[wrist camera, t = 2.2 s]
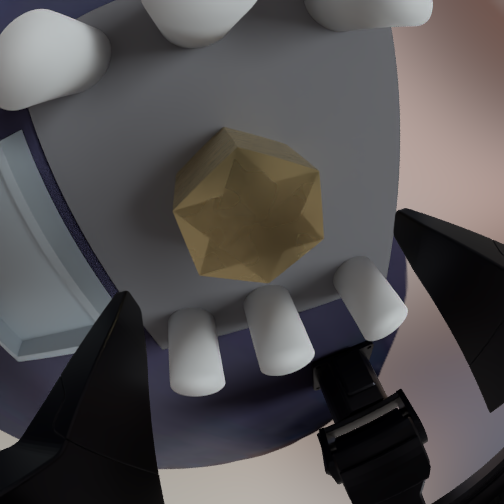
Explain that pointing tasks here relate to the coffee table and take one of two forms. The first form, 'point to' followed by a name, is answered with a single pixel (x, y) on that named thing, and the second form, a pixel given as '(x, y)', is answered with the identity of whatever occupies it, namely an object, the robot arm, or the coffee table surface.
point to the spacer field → (200, 132)
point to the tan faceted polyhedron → (247, 207)
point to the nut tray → (40, 266)
